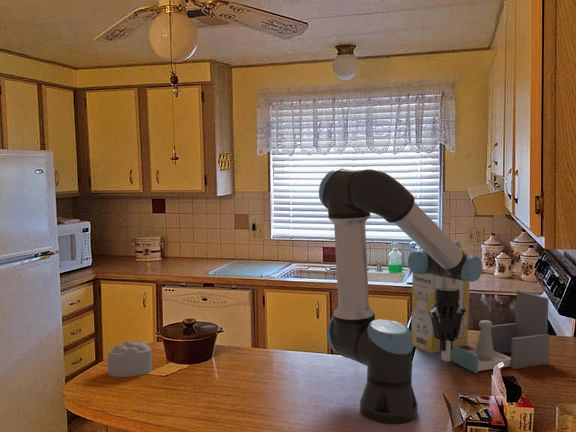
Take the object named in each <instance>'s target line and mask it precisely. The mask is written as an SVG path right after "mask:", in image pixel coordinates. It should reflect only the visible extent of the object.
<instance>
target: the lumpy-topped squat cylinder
mask: <svg viewBox="0 0 576 432" xmlns="http://www.w3.org/2000/svg"><path fill="white" fill-rule="evenodd" d="M152 358H153V357H152V348H151V347H150V346H149V345H148V343H144V342H143V341H136V342H133V341H130V340H128V341H124V342H123V343H121V344H117V345H115V346H114V347H113V348H111V349H109V350H108V351H107V373H108V374H107V375H108V376H110V377H113V378H114V377H115V378H131V377H137V376H143V375H146V374H150V373H151V372H152V369H153V366H152V365H153V364H152V362H153V361H152V360H153V359H152Z"/></svg>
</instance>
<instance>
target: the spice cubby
mask: <svg viewBox="0 0 576 432" xmlns="http://www.w3.org/2000/svg"><path fill="white" fill-rule="evenodd" d="M515 298H516V299H515V322H513V323H504V324H503V323H502V324H495V325H493V327H492V329H491V335H492V342H493V349H494V351H496V352H498V353H501V354H505V352H506V353H510V358H511V366H510V369H512V370H517V369H523V368H529V366H531V367H536V366H535V365H538V366H542V365H541V364H544V365H547V364H546V363H548V364H549V358H550V357H549V356H550V355H549V354H550V353H549V352H550V334H549V333H548V325H549V324H548V323H549V322H548V321H549V300H550V299H549V298H548V297H545V296H540V295H537V294H533V293H529V292H526V291H522V290H516V296H515Z"/></svg>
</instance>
